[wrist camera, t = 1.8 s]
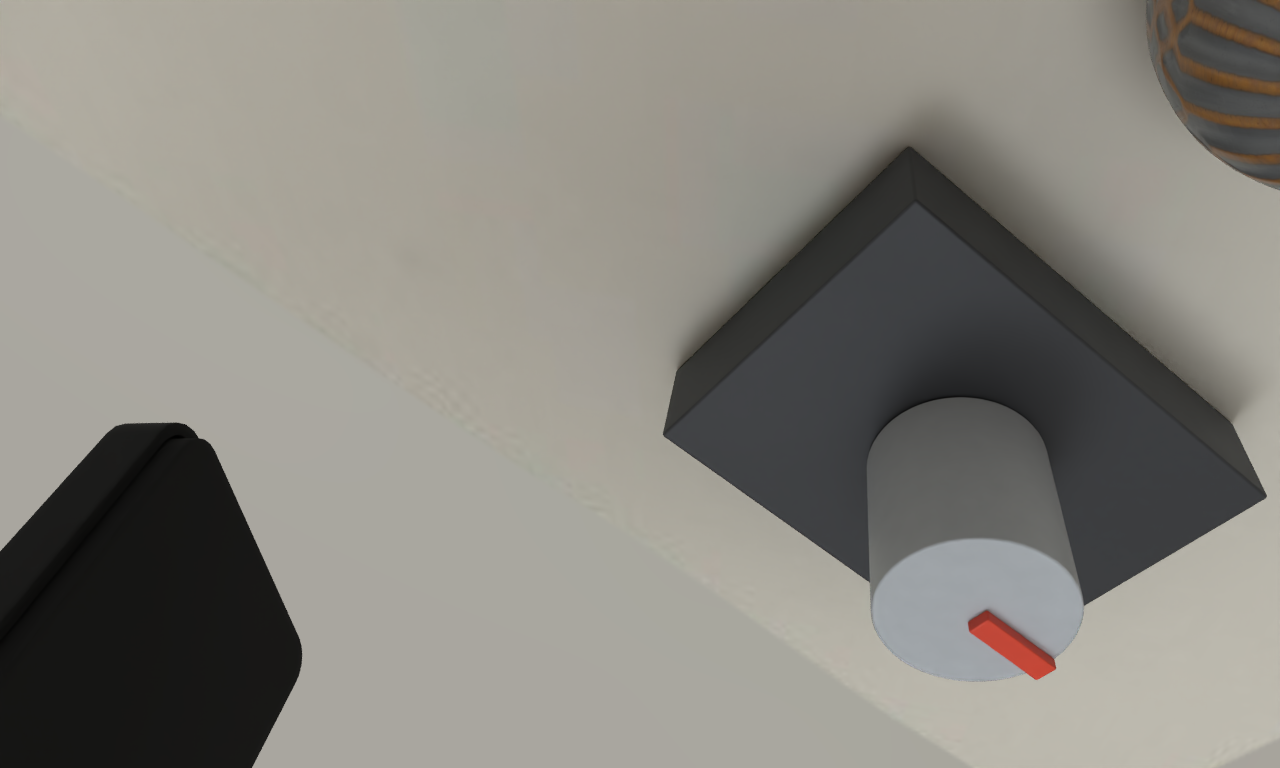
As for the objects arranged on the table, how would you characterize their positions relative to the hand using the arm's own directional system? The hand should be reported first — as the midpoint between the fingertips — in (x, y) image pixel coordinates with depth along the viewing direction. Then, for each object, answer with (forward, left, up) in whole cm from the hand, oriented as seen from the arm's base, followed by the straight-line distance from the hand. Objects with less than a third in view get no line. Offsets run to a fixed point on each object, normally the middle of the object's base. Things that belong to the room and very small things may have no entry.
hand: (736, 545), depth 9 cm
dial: (+5, -11, -15) cm, 19 cm away
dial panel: (+5, -11, -18) cm, 22 cm away
